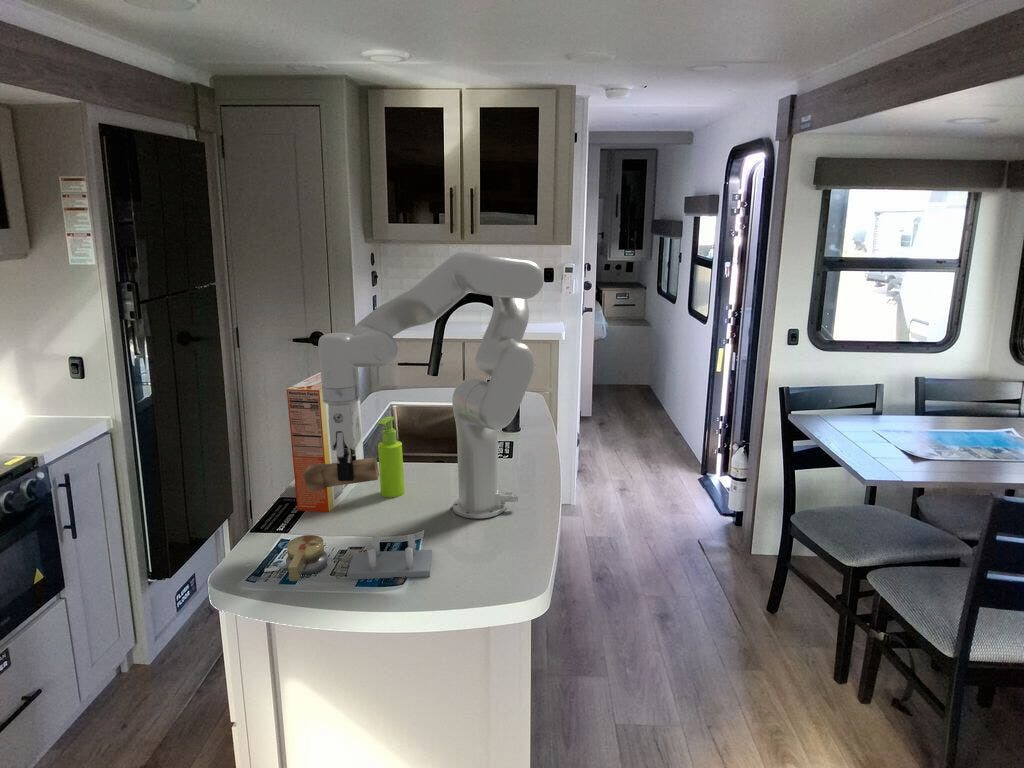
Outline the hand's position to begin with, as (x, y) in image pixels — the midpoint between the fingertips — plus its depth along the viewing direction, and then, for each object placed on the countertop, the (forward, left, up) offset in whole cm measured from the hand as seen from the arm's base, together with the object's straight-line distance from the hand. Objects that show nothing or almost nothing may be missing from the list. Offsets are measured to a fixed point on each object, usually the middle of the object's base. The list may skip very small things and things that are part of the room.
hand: (347, 476), depth 153 cm
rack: (-10, +12, -15) cm, 22 cm away
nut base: (+9, +11, -15) cm, 21 cm away
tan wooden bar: (+1, 0, -1) cm, 2 cm away
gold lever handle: (+7, +14, -12) cm, 20 cm away
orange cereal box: (+9, -28, -15) cm, 33 cm away
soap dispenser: (-6, -26, -15) cm, 31 cm away
